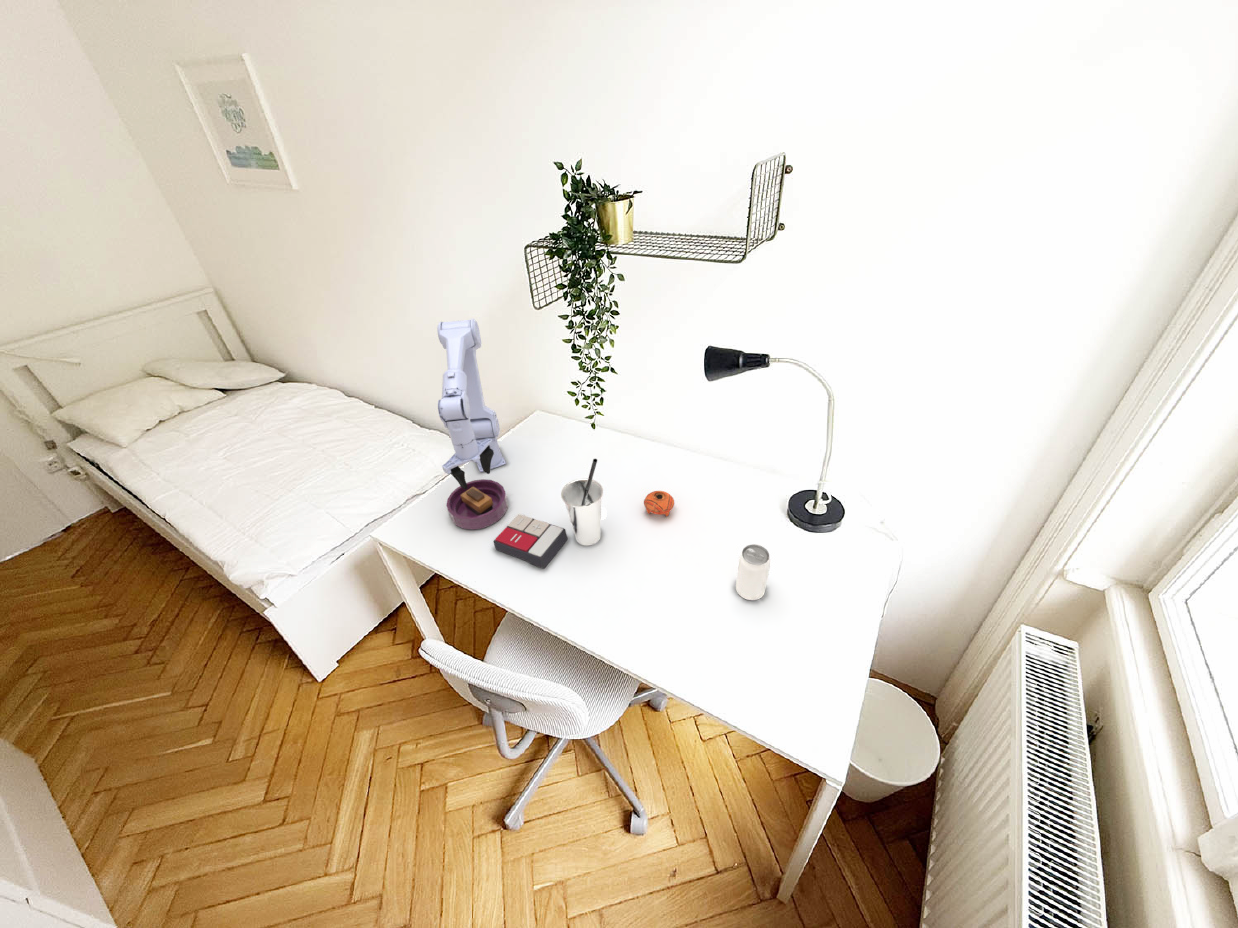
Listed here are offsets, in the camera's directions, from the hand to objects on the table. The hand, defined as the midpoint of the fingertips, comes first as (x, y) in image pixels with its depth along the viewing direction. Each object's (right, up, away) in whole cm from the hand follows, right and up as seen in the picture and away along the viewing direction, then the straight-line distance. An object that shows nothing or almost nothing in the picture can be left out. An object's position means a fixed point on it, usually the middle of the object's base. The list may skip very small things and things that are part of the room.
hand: (475, 479), depth 141 cm
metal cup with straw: (+31, -15, -6) cm, 35 cm away
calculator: (+16, -16, -7) cm, 24 cm away
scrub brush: (0, -8, +4) cm, 9 cm away
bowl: (0, -9, +4) cm, 10 cm away
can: (+68, -24, -21) cm, 75 cm away
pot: (+49, -9, 0) cm, 50 cm away
